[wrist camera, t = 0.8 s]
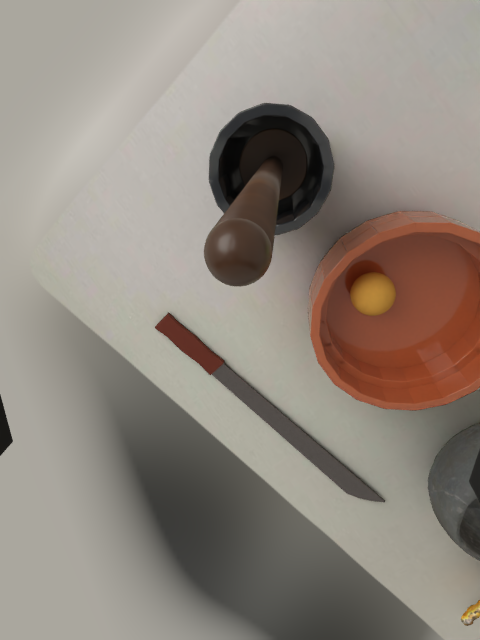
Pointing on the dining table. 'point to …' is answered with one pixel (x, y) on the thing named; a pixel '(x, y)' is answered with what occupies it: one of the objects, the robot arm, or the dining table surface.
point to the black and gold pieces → (471, 614)
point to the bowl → (457, 490)
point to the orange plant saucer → (402, 312)
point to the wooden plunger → (255, 207)
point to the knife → (265, 409)
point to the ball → (373, 294)
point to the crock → (247, 125)
